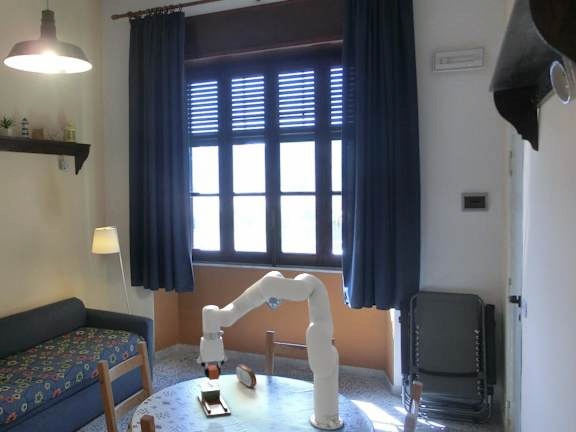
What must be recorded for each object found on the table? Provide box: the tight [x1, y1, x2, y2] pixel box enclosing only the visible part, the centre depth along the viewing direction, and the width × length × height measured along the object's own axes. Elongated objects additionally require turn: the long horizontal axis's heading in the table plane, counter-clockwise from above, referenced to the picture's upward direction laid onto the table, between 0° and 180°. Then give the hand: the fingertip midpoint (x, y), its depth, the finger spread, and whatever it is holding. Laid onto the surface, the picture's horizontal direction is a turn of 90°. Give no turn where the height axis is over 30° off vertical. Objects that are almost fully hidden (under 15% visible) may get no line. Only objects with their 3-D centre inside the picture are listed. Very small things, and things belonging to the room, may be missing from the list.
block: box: [208, 364, 220, 381], centre depth 216 cm, size 6×4×4 cm, turn 11°
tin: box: [235, 363, 257, 389], centre depth 238 cm, size 15×3×8 cm, turn 25°
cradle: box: [197, 386, 232, 418], centre depth 216 cm, size 20×10×5 cm, turn 11°
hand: (212, 375), depth 216 cm, fingers closed on block, 4 cm apart
